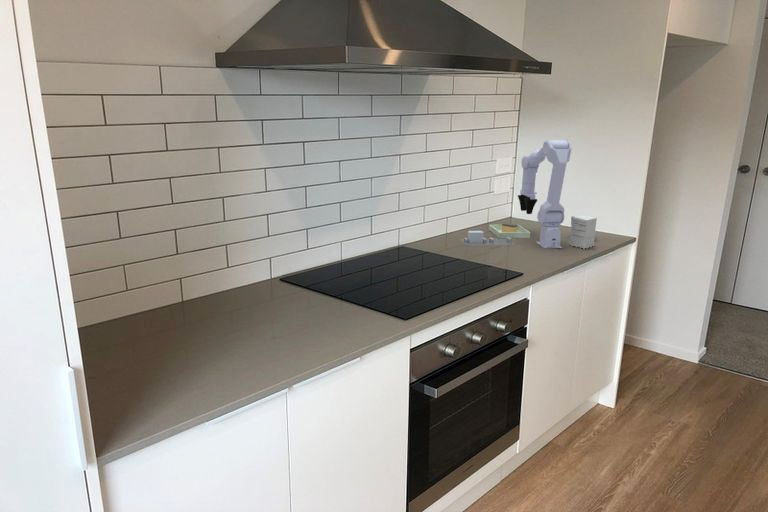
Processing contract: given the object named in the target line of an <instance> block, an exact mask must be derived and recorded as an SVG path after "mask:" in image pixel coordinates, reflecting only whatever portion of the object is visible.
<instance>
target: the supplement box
mask: <svg viewBox="0 0 768 512" xmlns="http://www.w3.org/2000/svg"><path fill="white" fill-rule="evenodd" d="M571 217H572V216H571ZM597 221H598V219H597V217H594V216H588V215H583V214H580V215H577V216H575V217H572V227H571V226H570V227H571V230H570V239H569V246H570V245H572V246H571V247H573V246H576V247H575V248H577V247H580V248H579V249H581V248H583V249H582V250H586V249H589V247H590V248H593V247H594V246H595V238H596V228H597V227H596V226H597ZM592 246H593V247H592ZM585 248H586V249H585Z"/></svg>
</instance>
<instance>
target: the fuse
mask: <svg viewBox="0 0 768 512" xmlns="http://www.w3.org/2000/svg"><path fill="white" fill-rule="evenodd" d="M484 232H485V231H483V230H468V231H467V238H468V239H469V243H483V238H484Z"/></svg>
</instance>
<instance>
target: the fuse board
mask: <svg viewBox="0 0 768 512" xmlns="http://www.w3.org/2000/svg"><path fill="white" fill-rule="evenodd" d="M459 240H460V241H461V243H462V244H463V245H464V246H517V244H516V243H515V242H514V241H512V240H513V238H510V237H507V238H493V237H488V238H486V237H483V243H469V239H468V237H463V238H459Z"/></svg>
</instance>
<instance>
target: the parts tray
mask: <svg viewBox="0 0 768 512" xmlns="http://www.w3.org/2000/svg"><path fill="white" fill-rule="evenodd" d="M516 225H517V232H502V224H489V226H488V227H489V228H488V232H491V233H492V234H493V235H494V236H496V238H497V239H507V237H510V238H511V239H531V234H532V232H531V231H529V230H528V229H526V228H524V227H523V226H521V225H520V224H516Z"/></svg>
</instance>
